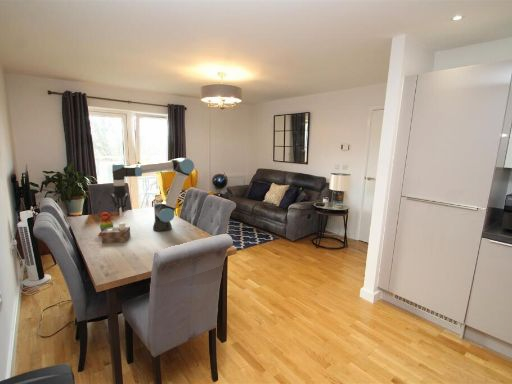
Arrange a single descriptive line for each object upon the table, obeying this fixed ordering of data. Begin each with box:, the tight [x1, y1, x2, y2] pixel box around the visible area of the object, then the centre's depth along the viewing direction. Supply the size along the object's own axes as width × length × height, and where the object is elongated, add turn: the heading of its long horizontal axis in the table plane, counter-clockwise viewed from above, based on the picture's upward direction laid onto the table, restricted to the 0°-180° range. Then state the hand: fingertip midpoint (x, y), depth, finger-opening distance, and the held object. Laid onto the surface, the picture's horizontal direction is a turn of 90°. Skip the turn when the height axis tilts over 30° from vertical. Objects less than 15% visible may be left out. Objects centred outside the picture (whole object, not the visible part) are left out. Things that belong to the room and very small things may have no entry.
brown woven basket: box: [100, 226, 131, 244], centre depth 198 cm, size 16×12×8 cm
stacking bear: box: [98, 211, 114, 237], centre depth 210 cm, size 11×10×18 cm
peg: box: [118, 222, 126, 230], centre depth 198 cm, size 4×4×8 cm
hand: (121, 216), depth 197 cm, fingers closed
